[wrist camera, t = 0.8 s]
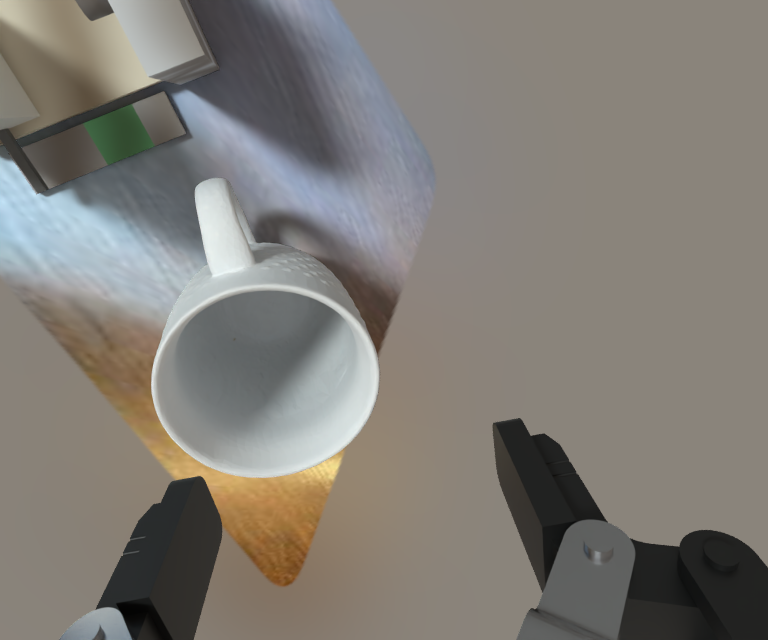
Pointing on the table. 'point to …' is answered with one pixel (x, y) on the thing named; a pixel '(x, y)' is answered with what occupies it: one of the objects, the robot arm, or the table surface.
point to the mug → (261, 353)
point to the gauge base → (99, 75)
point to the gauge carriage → (16, 122)
